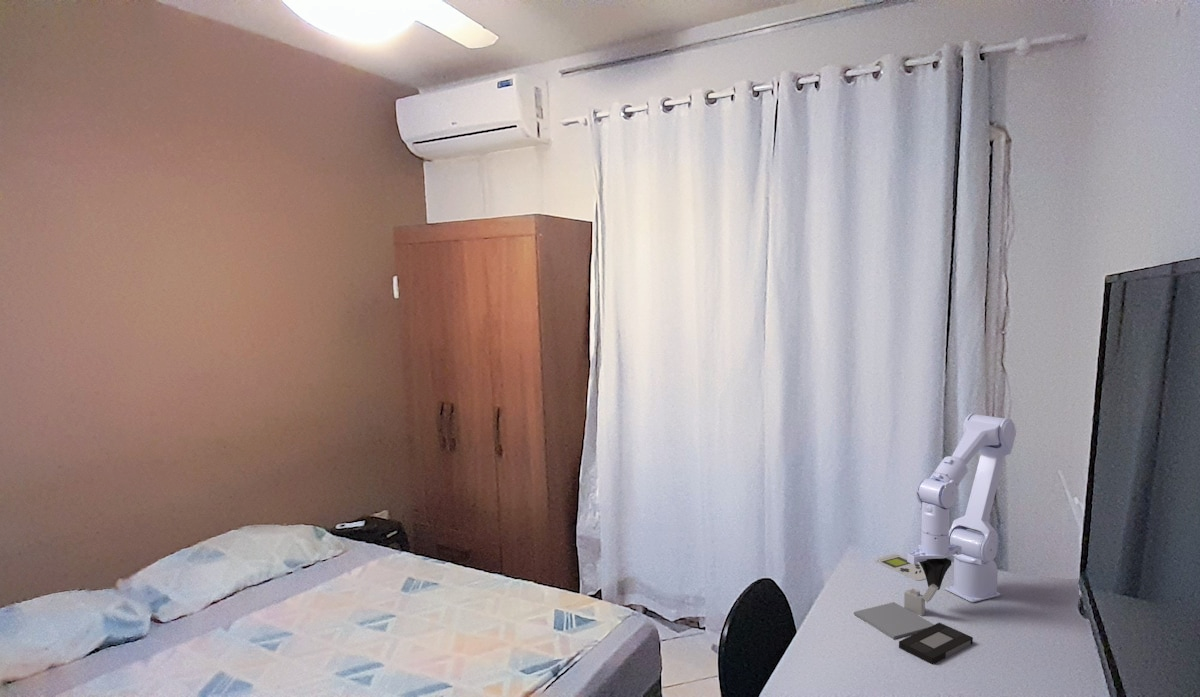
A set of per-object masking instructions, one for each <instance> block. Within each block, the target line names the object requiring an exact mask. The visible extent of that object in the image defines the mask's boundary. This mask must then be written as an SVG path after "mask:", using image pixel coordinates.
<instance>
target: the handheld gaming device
mask: <svg viewBox="0 0 1200 697" xmlns="http://www.w3.org/2000/svg"><path fill="white" fill-rule="evenodd" d="M877 558H878V560H877V561H876V560H874V559H873V560H874V561H873V562H875V561H876V562H875V563H877V562H878V563H877V564H879V563H880V565H881V564H882V566H883V565H885V566H884V567H886V568H889V569H890V570H893V571H894V570H895V571H894V572H897V573H900V574H901V575H904V576H905V577H908V578H909V579H913V580H915V581H923V580H927V579H926V576H925V573H924V570H923V568H922V566H921V564H920V563H919V562H917V564H915V565H913V564H911V563H909V562H907V557H905V556H902V555H899V554H897V553H896V554H895V553H891V554H888V555H885V556H880V557H877ZM879 560H880V561H879Z"/></svg>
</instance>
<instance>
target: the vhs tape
mask: <svg viewBox="0 0 1200 697" xmlns="http://www.w3.org/2000/svg"><path fill="white" fill-rule="evenodd" d="M973 640H974V637H973V636H971V635H968V634H966V633H964V632H961V631H959V630H957V629H955V628H952V627H950V626H949V625H946V624H945V623H942V622H938V623H935V624H934V625H933V626H931V627H929V628H927V629H924V630H922V631H920V632H918V633H915V634H912V635H908V636H906V637H905V638H903V639H901V640H899V641H898V648H899V649H900V650H903V651H904V652H906V653H908V654H910V655H912V656H914V657H917V658H918V659H920V660H922V661H923V662H926V663H928V664H931V665H934V664H937V663H939V662H940V661H942V660H944V659H946V658H947V657H949V656H951V655H953V654H955V653H956V652H959V651H960V650H962V649H965V648H966V647H968V646H970V645H973Z"/></svg>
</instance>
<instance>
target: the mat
mask: <svg viewBox="0 0 1200 697" xmlns="http://www.w3.org/2000/svg"><path fill="white" fill-rule="evenodd" d="M853 615H854V616H856V617H858V618H859V619H860V620H862V621H864V622H866V623H867V624H869V625H870V626H872V627H873V628H875V629H877V630H878V631H880V632H882V634H885V635H886V636H888V637H889V638H891V639H892V640H896V639H900V638H903V637H909V636H912V635H914V634H916V633H918V632H920V631H922V630H924V629H927V628H929V627H931V626H933V625H935V624H934V623H933V622H930V620H927V619H925V618H924V617H923V616H919V615H916V614H915V613H913V612H911V611H909V610H907V609H906V608H904V606H902V605H901V604H899V603H896V602H889V603H886V604H881V605H877V606H874V607H873V606H872V607H869V608H864V609H860V610H857V611H853Z"/></svg>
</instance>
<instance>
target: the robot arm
mask: <svg viewBox="0 0 1200 697" xmlns="http://www.w3.org/2000/svg"><path fill="white" fill-rule="evenodd" d="M962 433H963V435H962V437H961V439H960V440H959V442H958V444H957V446H956V447H955V449H954V451H953V452H952V454H951V456H949V455H948V456H945V457H944V458H943V459H941V461H940V463H939V464H938V466H937V467H936V468H935V470H934V471H933V473H931V475H930V477H928V478H925V479H923V480H921V481H920V482H919V484H918V486H917V488H916V489H917V490H916V492H915V495H916V499H917V501H918V508H919V509H920V511H921V524H920V525H921V528H920V529H921V530H920V535H921V536H920V538H921V539H920V543H919V544H918V546H917V547H918V548H917V549H915V550H913V551H912V552H909V553H907V557H906V558H907V562H909V563H911V564H913V565H915V564H917V563H918V564H920V565H921V566H922V568H923V570H924V573H925V576H926V579H925V580H926V583H927V587H928V588H929V586H930V585H931V584H935V585H936V586H937V587H939V588H938V589H937V591H939V590H940V589H941V587H942V583H943V580H944V577H945V575H946V573H947V571H948V570H949V569H950V567H951V566H952V560H951V559H948V558H949V557H951V556H953V585H949V586H945V587H944V589H945V591H948V593H949V592H950V593H952V594H954V595H955V596H958V597H959V598H962V599H964V600H967V601H968V602H970V603H976V602H980V601H983V600H987V599H992V598H995V597H999V596H1001V593H1000V592H998V572H999V571H998V566H997V564H996V562H995V560H994V559H995V558H996V556H997V551H998V538H999V534H998V532H997V531H996V530H995V528H994V527H993V526H992V525H991V523H990V522H989V521H990V520H989V519H990V516H991V512H992V508H993V504H994V499H995V496H996V492H997V488H998V485H999V481H1000V476H1001V472H1002V469H1003V465H1004V461H1005V456H1008V455H1010V454H1012V449H1013V447H1014V444H1015V443H1014V442H1015V440H1016V439H1015V438H1016V434H1017V430H1016V426H1015V423H1014V422H1013V420H1012V418H1008V417H1006V418H1005V417H997V416H991V415H984V414H983V415H982V414H977V413H974V412H971V413H969V414H968V415H967V416H966V417H965V419H964V421H963V424H962ZM978 452H979V455H980V456H979V460H978V464H977V466H976V467H977V468H976V471H975V476H974V479H973V483H972V486H971V490H970V495H969V498H968V502H967V506H966V510H965V514H964V515H962V516H960V517H958V518H955V519H954V520H953V521H952V524H951V527H950V508H952V506H953V505H954V504H955V501H956V496H957V494H958V491H959V489H958V487H959V486H960V484H961V482H962V481H963V480H964V479H965V477H966V476H967V474H968V473H969V472H968V471H969V468H968V466H967V465H968V464H969V462H970V461H971V460H972V459H973V457H975V456H976V454H977V453H978ZM975 531H976V532H975Z"/></svg>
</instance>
